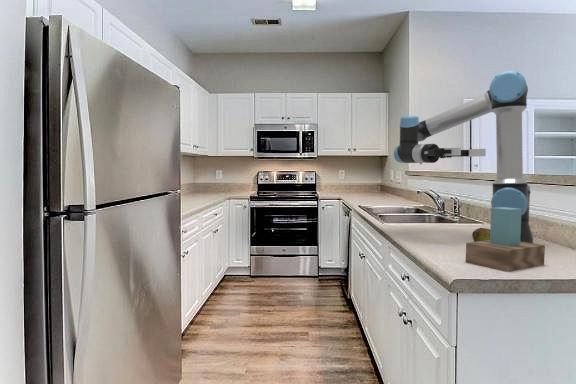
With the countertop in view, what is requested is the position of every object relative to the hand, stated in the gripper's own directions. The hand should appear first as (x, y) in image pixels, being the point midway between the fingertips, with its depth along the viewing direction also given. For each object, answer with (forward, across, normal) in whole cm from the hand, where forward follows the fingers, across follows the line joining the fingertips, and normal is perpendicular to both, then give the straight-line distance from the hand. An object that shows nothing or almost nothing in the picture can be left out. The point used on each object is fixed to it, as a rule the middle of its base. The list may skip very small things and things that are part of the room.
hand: (472, 152), depth 154 cm
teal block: (+21, +11, -29) cm, 37 cm away
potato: (+6, -4, -35) cm, 36 cm away
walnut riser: (+21, +11, -35) cm, 42 cm away
